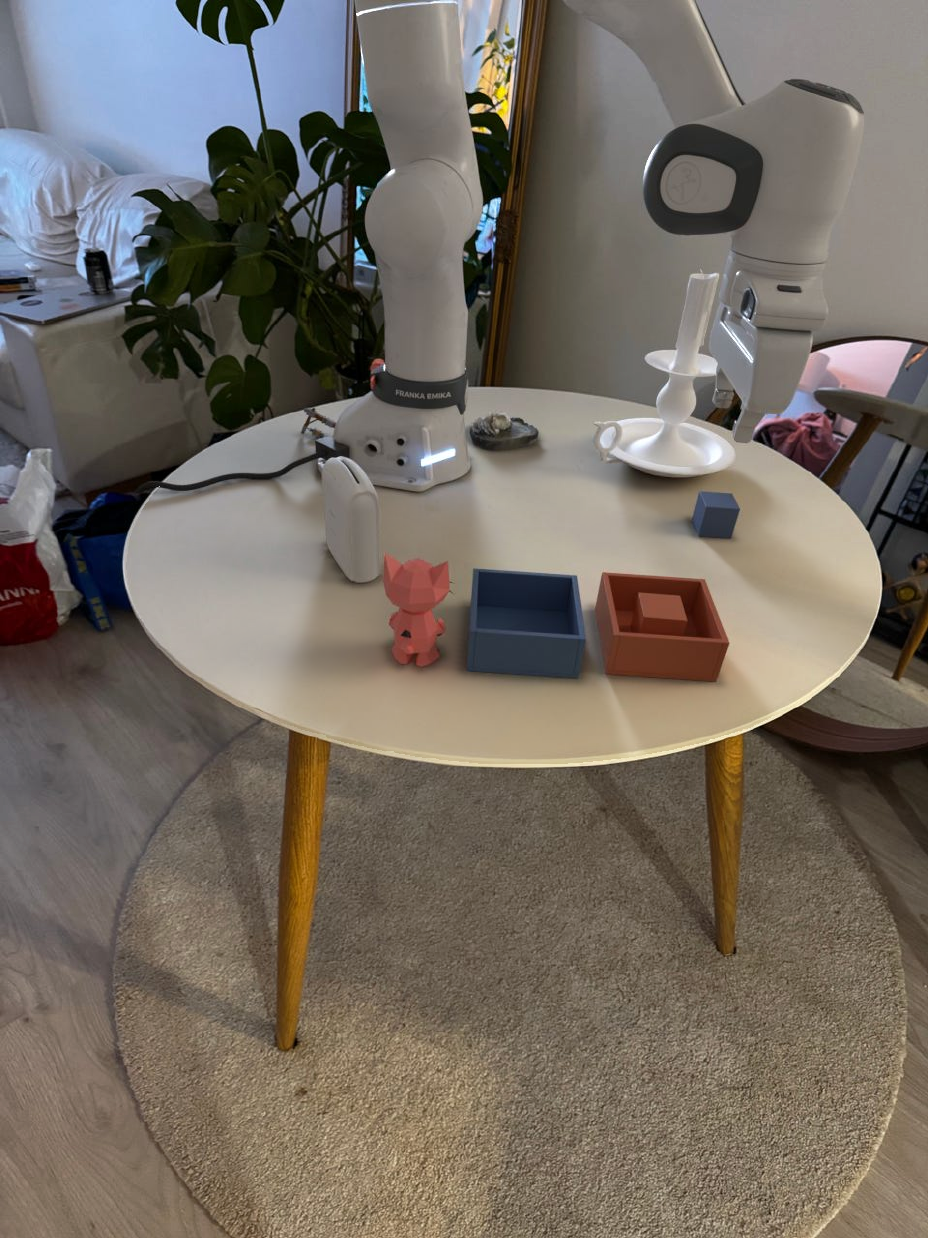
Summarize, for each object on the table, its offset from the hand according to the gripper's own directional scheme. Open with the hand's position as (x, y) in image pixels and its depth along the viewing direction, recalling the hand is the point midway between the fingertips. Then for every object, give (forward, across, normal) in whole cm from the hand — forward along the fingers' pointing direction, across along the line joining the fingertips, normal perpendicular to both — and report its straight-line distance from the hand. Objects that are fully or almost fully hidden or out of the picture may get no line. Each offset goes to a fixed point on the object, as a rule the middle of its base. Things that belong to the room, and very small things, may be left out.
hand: (729, 422), depth 82 cm
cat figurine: (+19, +21, -32) cm, 43 cm away
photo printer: (+19, +4, -41) cm, 45 cm away
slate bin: (+19, +17, -21) cm, 33 cm away
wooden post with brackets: (+20, -30, -51) cm, 62 cm away
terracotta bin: (+19, +16, -7) cm, 26 cm away
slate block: (+19, -10, +5) cm, 22 cm away
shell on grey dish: (+19, -36, -24) cm, 47 cm away
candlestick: (+19, -29, 0) cm, 35 cm away
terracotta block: (+18, +16, -7) cm, 25 cm away
